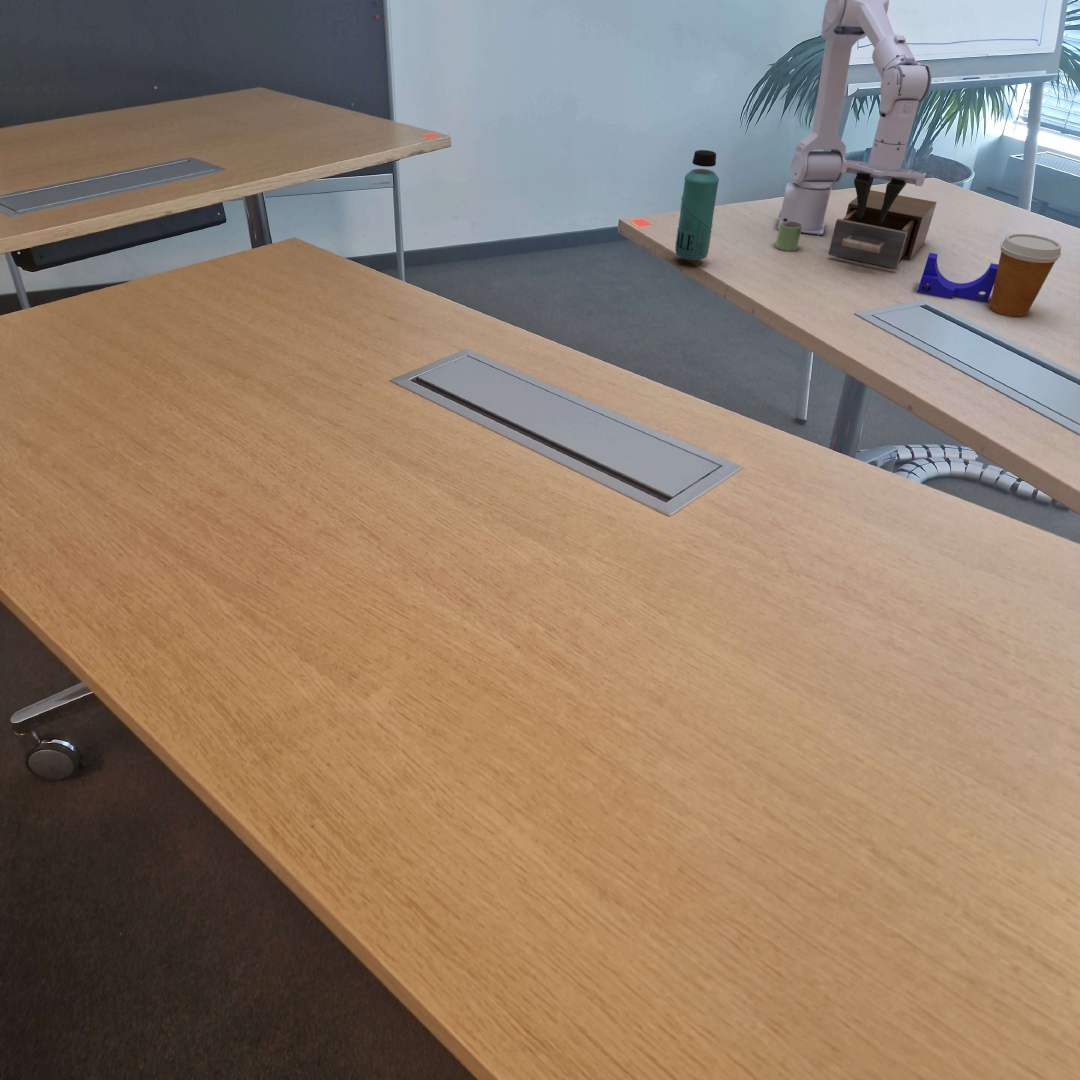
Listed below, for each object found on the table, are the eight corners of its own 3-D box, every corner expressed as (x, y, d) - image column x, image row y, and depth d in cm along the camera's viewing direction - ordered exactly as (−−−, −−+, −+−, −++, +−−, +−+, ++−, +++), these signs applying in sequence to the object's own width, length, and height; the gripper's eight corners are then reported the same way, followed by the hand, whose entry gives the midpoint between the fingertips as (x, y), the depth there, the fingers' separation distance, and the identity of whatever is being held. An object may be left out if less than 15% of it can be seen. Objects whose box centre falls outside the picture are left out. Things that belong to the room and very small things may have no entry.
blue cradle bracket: (917, 292, 161) (927, 259, 157) (919, 284, 164) (929, 252, 160) (987, 305, 157) (998, 272, 153) (988, 297, 160) (999, 264, 156)
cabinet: (909, 260, 175) (922, 217, 170) (838, 245, 181) (848, 203, 176) (924, 243, 184) (936, 202, 179) (856, 229, 190) (866, 189, 185)
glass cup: (774, 249, 177) (779, 226, 174) (776, 242, 180) (780, 219, 178) (796, 252, 176) (801, 228, 173) (798, 245, 180) (803, 222, 177)
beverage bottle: (709, 259, 170) (727, 149, 158) (703, 270, 165) (720, 157, 153) (676, 254, 172) (691, 145, 160) (669, 265, 167) (684, 152, 155)
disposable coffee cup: (1033, 324, 150) (1060, 254, 143) (974, 311, 154) (998, 242, 147) (1040, 308, 157) (1067, 240, 150) (984, 295, 161) (1007, 229, 153)
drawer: (889, 276, 164) (900, 240, 160) (820, 261, 170) (829, 225, 166) (910, 252, 177) (920, 218, 173) (845, 238, 182) (854, 205, 178)
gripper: (844, 138, 156) (826, 216, 164) (928, 151, 150) (905, 232, 158) (854, 131, 161) (836, 208, 169) (936, 144, 155) (913, 222, 163)
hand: (870, 219), depth 164 cm, fingers open, 3 cm apart
